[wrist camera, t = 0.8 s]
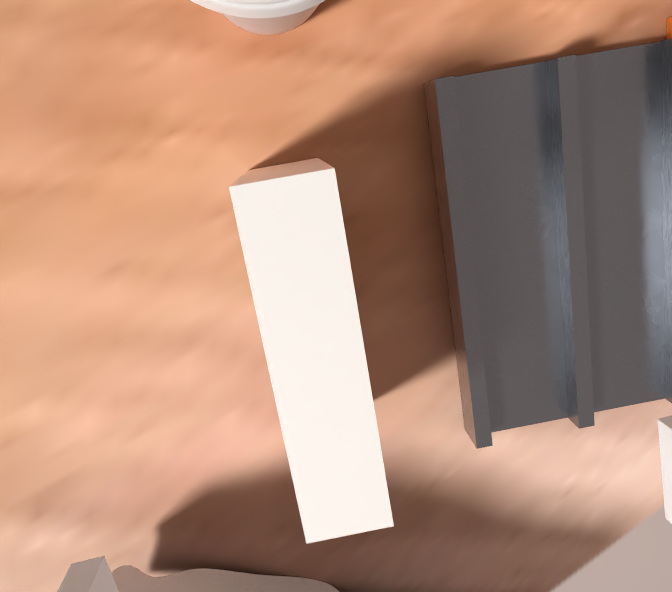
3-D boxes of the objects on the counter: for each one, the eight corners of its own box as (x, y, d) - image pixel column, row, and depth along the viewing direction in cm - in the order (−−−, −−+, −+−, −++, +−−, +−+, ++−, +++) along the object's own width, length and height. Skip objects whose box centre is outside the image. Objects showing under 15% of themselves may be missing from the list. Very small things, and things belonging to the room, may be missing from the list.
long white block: (248, 169, 33) (229, 186, 21) (317, 157, 33) (334, 168, 22) (300, 418, 37) (306, 543, 26) (360, 406, 38) (393, 526, 26)
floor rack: (421, 60, 32) (439, 50, 28) (778, -1, 33) (843, -20, 29) (465, 429, 38) (484, 461, 35) (763, 370, 39) (815, 396, 35)
